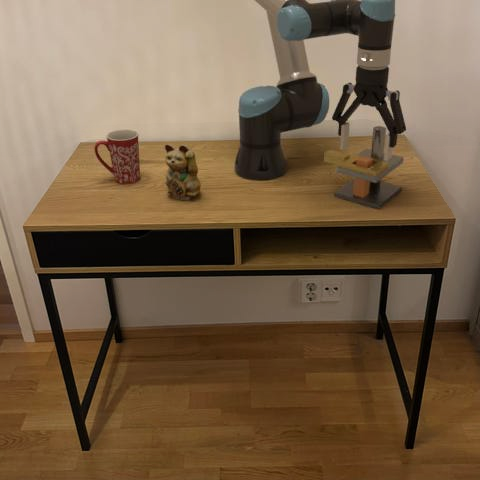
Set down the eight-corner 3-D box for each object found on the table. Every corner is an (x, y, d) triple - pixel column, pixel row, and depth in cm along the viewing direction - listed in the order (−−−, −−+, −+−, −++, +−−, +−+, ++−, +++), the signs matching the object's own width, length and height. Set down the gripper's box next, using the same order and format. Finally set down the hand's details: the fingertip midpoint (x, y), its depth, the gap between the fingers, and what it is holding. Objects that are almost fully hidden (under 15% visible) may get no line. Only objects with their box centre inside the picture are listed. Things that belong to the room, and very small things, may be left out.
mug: (144, 171, 174) (139, 127, 167) (142, 184, 166) (137, 139, 159) (101, 173, 173) (94, 130, 167) (97, 187, 166) (90, 141, 159)
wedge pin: (352, 194, 154) (356, 159, 149) (358, 190, 156) (362, 155, 151) (363, 197, 152) (367, 162, 147) (368, 193, 154) (372, 158, 149)
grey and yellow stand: (317, 193, 158) (320, 132, 149) (346, 174, 168) (350, 115, 160) (376, 211, 149) (383, 146, 140) (403, 189, 159) (411, 128, 150)
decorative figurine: (162, 199, 158) (157, 146, 150) (173, 186, 164) (169, 135, 157) (196, 203, 155) (193, 149, 148) (206, 189, 162) (203, 138, 154)
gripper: (320, 62, 141) (316, 147, 152) (414, 76, 128) (403, 169, 139) (336, 56, 146) (331, 139, 157) (428, 69, 133) (416, 158, 144)
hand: (365, 153), depth 148 cm, fingers open, 11 cm apart
